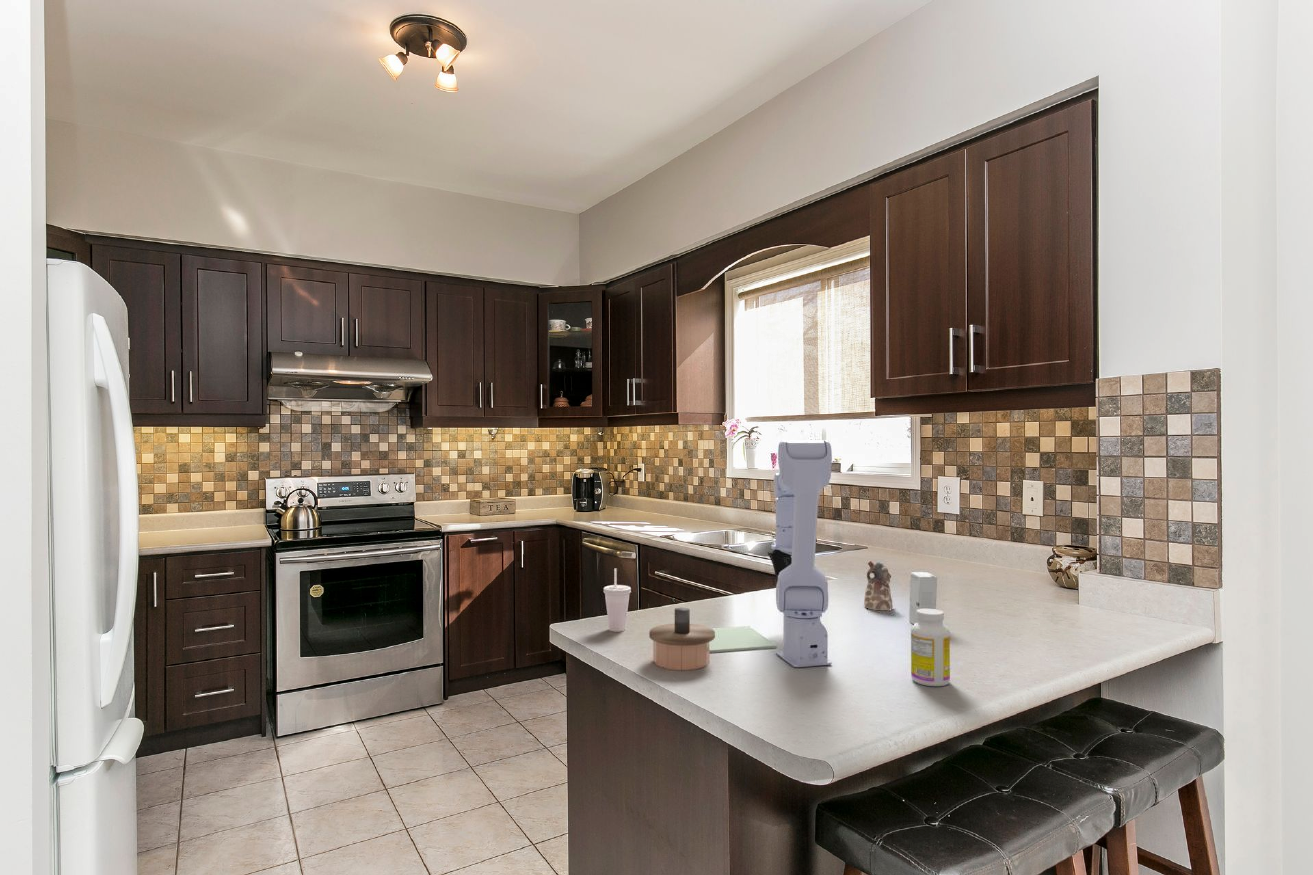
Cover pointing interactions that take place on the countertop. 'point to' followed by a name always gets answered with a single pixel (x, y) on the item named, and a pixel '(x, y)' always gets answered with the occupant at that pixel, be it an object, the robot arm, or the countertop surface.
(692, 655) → the bowl
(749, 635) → the mat
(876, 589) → the figurine
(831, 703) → the countertop surface
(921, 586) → the skincare box
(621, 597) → the smoothie
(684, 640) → the lid
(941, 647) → the supplement bottle
